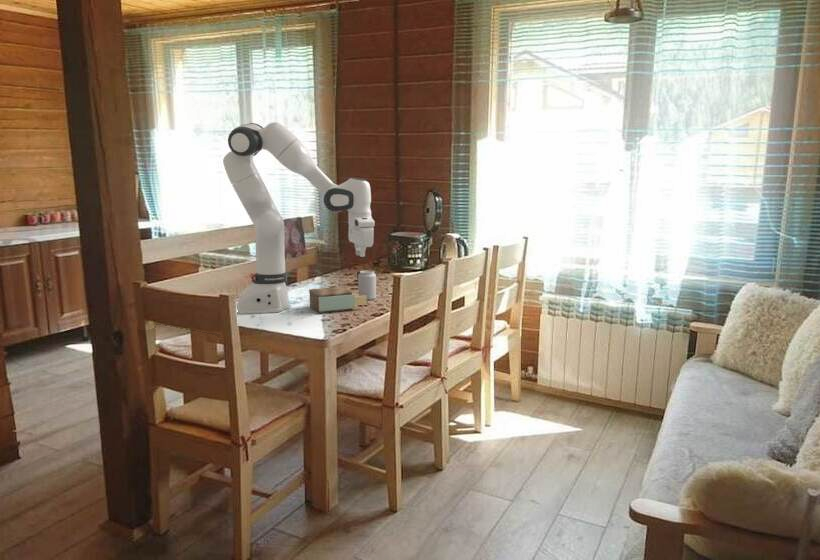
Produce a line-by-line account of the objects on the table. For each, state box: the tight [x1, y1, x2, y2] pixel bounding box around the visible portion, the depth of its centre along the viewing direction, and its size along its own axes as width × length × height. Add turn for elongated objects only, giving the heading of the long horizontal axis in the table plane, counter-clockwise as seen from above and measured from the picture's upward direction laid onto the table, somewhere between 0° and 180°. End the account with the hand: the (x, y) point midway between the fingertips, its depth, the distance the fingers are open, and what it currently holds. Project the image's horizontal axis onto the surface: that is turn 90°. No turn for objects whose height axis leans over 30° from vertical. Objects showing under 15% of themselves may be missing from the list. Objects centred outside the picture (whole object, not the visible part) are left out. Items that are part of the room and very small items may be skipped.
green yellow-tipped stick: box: [318, 294, 368, 311], centre depth 243 cm, size 19×1×5 cm, turn 113°
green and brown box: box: [308, 286, 353, 314], centre depth 248 cm, size 14×12×7 cm
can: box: [357, 270, 377, 301], centre depth 265 cm, size 8×8×12 cm
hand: (360, 255), depth 245 cm, fingers open, 3 cm apart
